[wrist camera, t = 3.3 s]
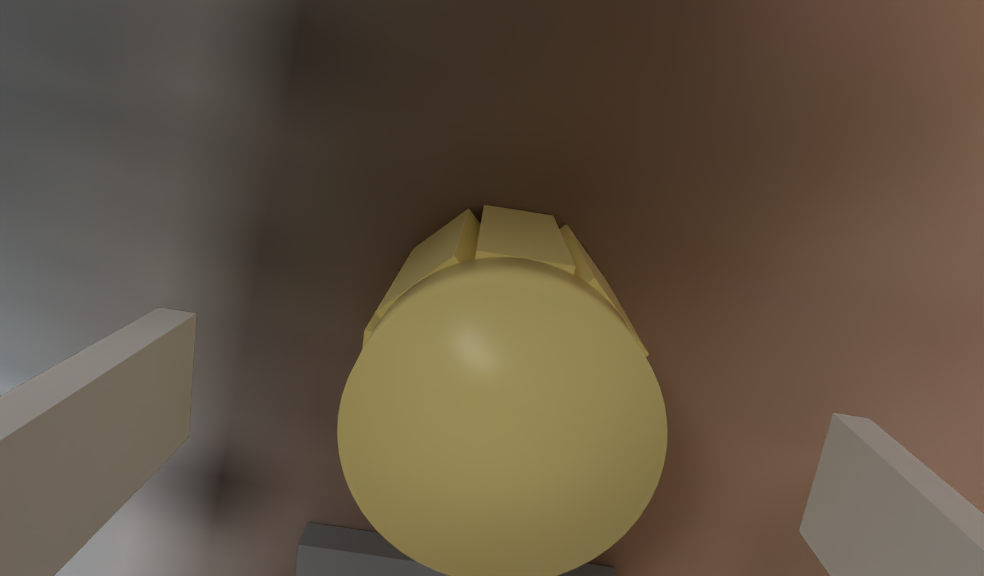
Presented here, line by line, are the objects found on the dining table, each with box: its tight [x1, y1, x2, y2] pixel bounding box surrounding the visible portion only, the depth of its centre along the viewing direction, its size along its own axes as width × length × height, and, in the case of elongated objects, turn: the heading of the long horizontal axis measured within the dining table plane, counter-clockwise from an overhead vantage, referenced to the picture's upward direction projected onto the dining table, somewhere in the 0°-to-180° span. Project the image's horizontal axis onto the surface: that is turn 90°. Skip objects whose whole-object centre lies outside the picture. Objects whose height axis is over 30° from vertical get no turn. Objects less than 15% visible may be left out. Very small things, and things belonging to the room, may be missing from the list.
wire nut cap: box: [337, 205, 668, 576], centre depth 17 cm, size 6×6×8 cm
